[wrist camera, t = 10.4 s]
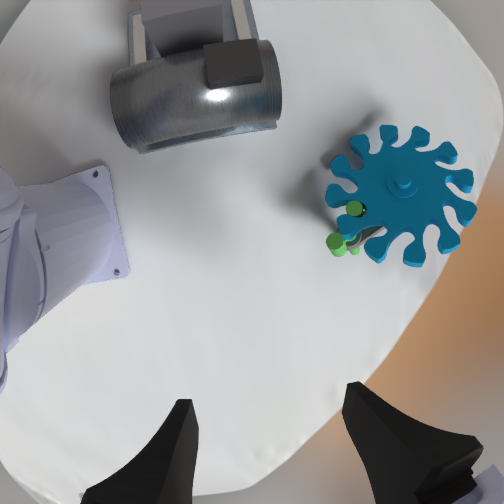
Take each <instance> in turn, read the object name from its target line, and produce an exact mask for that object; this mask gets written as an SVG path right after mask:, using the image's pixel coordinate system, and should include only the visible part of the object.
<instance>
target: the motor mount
mask: <svg viewBox="0 0 504 504" xmlns="http://www.w3.org/2000/svg"><path fill="white" fill-rule="evenodd" d="M221 1H222V16H223V42H219V43H213V44H207V45H203V48H199V49H194V50H189V51H184V52H180V53H175V54H171V55H167V56H163V57H161V56H160V54H159V52H158V50H157V49H156V47H155V45H154V43H153V42H152V40H151V38H150V36H149V34H148V33H147V31H146V29H145V27H144V26H143V24H142V22H141V9H139V10H136V11H133V12H130V13H128V29H129V56H130V66H129V67H125V68H122V69H119V70H117V71H115V72H114V73H113V75H112V78H111V83H110V101H111V108H112V113H113V117H114V121H115V124H116V127H117V129H118V132H119V134H120V136H121V138H122V140H123V141H124V143H125V144H126V145H127V146H128V147H129V148H132V149H133V148H137V147H139V153H140V154H145V153H149V152H153V151H157V150H161V149H165V148H169V147H174V146H178V145H183V144H187V143H192V142H197V141H202V140H207V139H212V138H218V137H223V136H229V135H235V134H242V133H248V132H255V131H263V130H270V129H276V128H277V125H276V121H277V120H279V118H280V115H281V109H282V89H281V79H280V72H279V67H278V62H277V58H276V55H275V52H274V49H273V47H272V45H271V43H270V42H269V41H268V40H259V37H258V32H257V28H256V24H255V19H254V15H253V11H252V7H251V3H250V0H221Z"/></svg>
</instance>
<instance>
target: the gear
mask: <svg viewBox="0 0 504 504" xmlns="http://www.w3.org/2000/svg"><path fill="white" fill-rule="evenodd" d="M380 136H381V139H382V141H383V144H382V147H381V150H380V151H379V153H377V154H369V153H368V152H369V149H370V144H369V140H368V137H367V136H366V135H365V134H361V135H358V136H355V137H353V138H351V139H350V143H351V146H352V150H353V151H354V152H355V153H356V154H358V155H359V156H360V157H361V158H362V160H363V161H364V167H363V168H362V169H361V170H358V171H354V170H352V169H351V168H350V165H349V161H348V159H347V157H346V156H344V155H339V156H337V157H336V158H335V159H334V160H333V161H332V162H331V164H330V168H331V170H332V173H333V174H334V175H335V176H337V177H342V178H346V179H348V180H350V181H352V182H353V183H354V184H355V185H356V186H357V187H358V190H357V191H356V192H355V193H351V194H350V193H346V192H345V191H344V190H343V189H342V188H341V186H339V185H338V184H330V185H329V186H328V187H327V190H326V196H325V200H326V202H327V204H328V206H329V207H332V208H338V207H340V206H345V205H346V212H347V214H343V215H340V216H339V217H338V218H337V225H338V229H337V232H336V233H332V234H330V235H329V236H328V237H327V239H326V244H327V246H328V248H329V249H330V251H331V253H332V254H333V255H334V256H337V257H340V256H343V255H344V254H345V253H346V251H347V250H349V251H350V253H351V254H353V255H356V254H358V253H359V246H360V245H362V244H363V243H364V242H366V243H365V244H364V249H365V252H366V254H367V255H368V256H369V257H370V258H371V259H372V260H373V261H375V262H377V263H381V262H382V261H383V260H384V259H385V257H386V254H387V250H388V248H389V246H390V244H391V243H392V241H393V240H394V239H395V238H396V237H398V236H399V235H400V234H402V233H404V232H410V233H412V234H413V235H414V237H415V240H414V241H413V242H412V243H411V244H409V245H408V246H407V247H406V248H405V250H404V254H403V263H404V264H406V265H408V266H411V267H422V266H423V264H424V261H425V258H426V252H425V249H424V246H423V233H424V231H425V228H426V227H427V226H428V225H430V224H434V225H436V226H438V228H439V229H440V237H439V240H438V250H439V251H440V253H441V254H447V253H450V252H452V251H454V250H456V249H457V248H458V246H459V244H460V237H459V235H458V234H457V233H456V232H455V231H454V230H453V229H452V228H451V227H450V225H449V224H448V222H447V220H446V218H445V215H444V211H443V207H444V206H451V207H453V208H454V210H455V212H456V216H457V220H458V222H459V223H460V224H461V225H462V226H464V227H467V226H468V225H469V224H470V223H471V221H472V219H473V217H474V215H475V213H476V211H477V207H476V205H475V204H474V203H472V202H470V201H466V200H463V199H461V198H459V197H457V196H456V195H455V194H454V193H453V192H452V191H451V190H450V189H449V188H448V187H447V186H446V183H447V182H451V183H453V184H455V185H456V186H457V187H458V188H459V190H461V191H462V192H464V193H470V192H471V189H472V187H473V183H474V178H473V172H472V171H471V170H469V169H461V170H448V169H445V168H442V167H440V166H438V165H436V164H435V162H437V161H440V162H443V163H446V164H454V163H455V162H456V159H457V155H458V154H457V151H456V149H455V148H454V146H453V145H452V144H451V143H450V142H443V143H442V144H441V145H440V146H439V147H438V148H437V149H435V150H432V151H427V152H419V151H417V150H415V148H419V147H425V146H427V145H428V144H429V138H430V133H429V132H428V131H426V130H425V129H423V128H421V127H419V126H415V127H413V129H412V134H411V137H410V139H409V140H408V142H406V143H405V144H404V145H402V146H401V147H398V148H395V147H392V146H391V145H392V144H394V143H395V142H396V141H397V140H398V129H397V127H396V126H393V125H381V126H380ZM363 209H364V210H365V211H364V212H363ZM384 228H386V229H387V230H388V231H387V233H386V234H385V235H384V236H381V237H373V236H374V235H376V234H377V233H379V232H380V231H382V230H383V229H384ZM372 237H373V238H372Z"/></svg>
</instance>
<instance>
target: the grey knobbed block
mask: <svg viewBox="0 0 504 504" xmlns="http://www.w3.org/2000/svg"><path fill="white" fill-rule="evenodd" d="M141 22H142V24H143V26H144V27H145V29H146V31H147V33H148V34H149V36H150V38H151V40H152V42H153V43H154V45H155V47H156V49H157V50H158V52H159V54H160V56H161V57H163V56H167V55H171V54H175V53H180V52H184V51H189V50H194V49H199V48H203V45H207V44H213V43H219V42H223V16H222V1H221V0H141Z"/></svg>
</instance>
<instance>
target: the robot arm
mask: <svg viewBox="0 0 504 504" xmlns="http://www.w3.org/2000/svg"><path fill="white" fill-rule="evenodd" d="M95 171H98V176H97V177H95V176H94V173H95ZM115 269H118V270H119V271H120V274H117V273H116V272H115ZM129 274H130V266H129V262H128V258H127V254H126V250H125V246H124V242H123V238H122V234H121V229H120V225H119V220H118V216H117V211H116V206H115V200H114V195H113V190H112V184H111V178H110V172H109V168H108V167H107V166H105V165H99V166H96V167H93V168H90V169H87V170H84V171H81V172H79V173H76V174H73V175H70V176H67V177H65V178H62V179H59V180H57V181H54V182H52V183H49V184H37V185H25V186H17V185H16V183H15V181H14V179H13V177H12V176H11V175H10V174H9V173H8V172H7V171H6V170H4V169H3V168H1V167H0V395H1V393H2V391H3V390H4V387H5V384H6V381H7V375H8V367H7V359H6V353H7V352H9V351H10V350H11V349H12V348H13V347H14V346H15V345H16V344H17V343H18V342H19V336H20V335H22V334H23V333H24V332H26V331H27V330H28V329H29V328H30V327H31V326H32V325H33V324H35V323H36V322H37V321H38V320H39V319H41V318H42V317H43V316H44V315H45V314H47V313H48V312H49V311H50V310H51V309H53V308H54V307H55V306H56V305H57V304H59V303H60V302H61V301H62V300H64V299H65V298H66V297H67V296H69V295H70V294H71V293H72V292H74V291H75V290H76V289H77V288H79V287H80V286H81V285H85V284H91V283H97V282H103V281H108V280H114V279H120V278H125V277H127V276H128V275H129ZM342 415H343V419H344V422H345V425H346V428H347V430H348V432H349V435H350V437H351V439H352V441H353V443H354V445H355V447H356V449H357V451H358V453H359V455H360V457H361V459H362V461H363V463H364V466H365V468H366V471H367V474H368V477H369V480H370V484H371V487H372V491H373V494H374V498H375V502H376V504H504V477H503V475H502V474H501V473H500V471H499V470H498V469H497V467H496V466H495V465H491V466H490V467H489V468H487V469H486V470H484V471H483V472H482V473H480V474H479V475H478V476H476V477H475V478H474V479H473V477H472V476H471V475H472V474H473V470H472V469H471V467H472V466H473V464H474V463H475V462H476V461H477V459H478V458H479V457H480V455H481V454H482V451H483V446H482V445H481V443H480V442H479V441H478V440H477V439H476V437H475V436H470V435H463V434H457V433H452V432H448V431H444V430H440V429H437V428H434V427H432V426H429V425H426V424H424V423H422V422H419V421H417V420H415V419H413V418H411V417H409V416H407V415H406V414H404V413H402V412H401V411H399V410H397V409H396V408H394V407H393V406H391V405H390V404H388V403H387V402H385V401H384V400H383V399H381V398H380V397H379V396H377V395H376V394H375V393H374V392H372V391H371V390H369V389H368V388H367V387H366V386H365V385H363V384H362V383H361V382H359V381H358V382H353V383H348V384H347V388H346V394H345V399H344V404H343V409H342ZM198 438H199V427H198V423H197V419H196V415H195V411H194V407H193V403H192V399H178V400H177V401H176V403H175V405H174V407H173V408H172V410H171V412H170V413H169V415H168V417H167V418H166V420H165V421H164V423H163V424H162V426H161V427H160V428H159V430H158V431H157V433H156V434H155V435H154V436H153V438H152V439H151V440H150V441H149V443H148V444H147V445H146V446H145V447H144V448H143V449H142V450H141V451H140V452H139V453H138V454H137V455H136V456H135V457H134V458H133V459H132V460H131V461H130V462H129V463H127V464H126V465H125V466H124V467H123V468H121V469H120V470H119V471H117V472H116V473H114V474H113V475H111V476H110V477H108V478H107V479H105V480H103V481H102V482H100V483H98V484H96V485H94V486H92V487H90V488H88V489H86V491H85V493H84V495H83V498H82V500H81V503H80V504H192V487H193V478H194V472H195V465H196V458H197V451H198Z"/></svg>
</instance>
